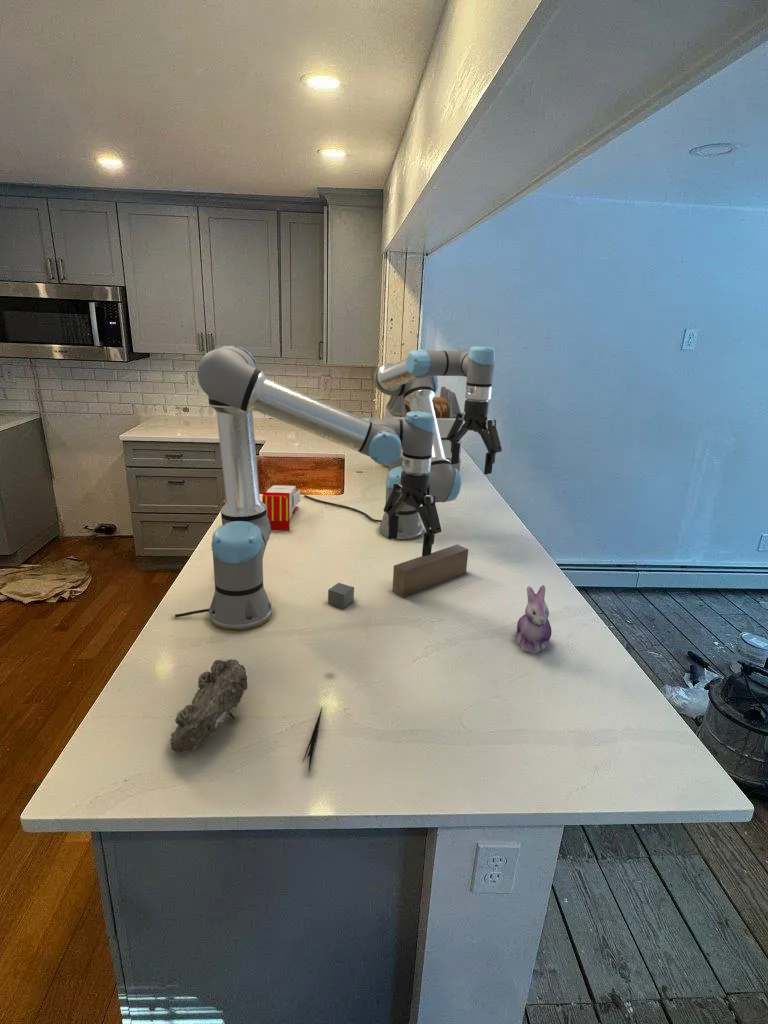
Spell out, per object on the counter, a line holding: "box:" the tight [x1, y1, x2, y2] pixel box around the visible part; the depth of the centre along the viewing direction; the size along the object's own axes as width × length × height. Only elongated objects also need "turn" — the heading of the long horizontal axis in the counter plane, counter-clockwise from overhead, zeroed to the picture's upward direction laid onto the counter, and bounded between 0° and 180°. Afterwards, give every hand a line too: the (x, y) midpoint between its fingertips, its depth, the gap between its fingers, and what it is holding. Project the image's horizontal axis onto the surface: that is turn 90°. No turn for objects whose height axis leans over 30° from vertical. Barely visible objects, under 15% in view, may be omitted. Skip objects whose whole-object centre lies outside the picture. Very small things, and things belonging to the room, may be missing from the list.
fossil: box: [170, 658, 249, 753], centre depth 106 cm, size 22×10×15 cm
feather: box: [301, 673, 332, 771], centre depth 108 cm, size 2×28×2 cm
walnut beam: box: [392, 544, 469, 598], centre depth 164 cm, size 4×26×8 cm, turn 131°
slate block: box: [327, 582, 355, 609], centre depth 152 cm, size 5×5×4 cm
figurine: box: [515, 584, 552, 654], centre depth 134 cm, size 9×10×15 cm
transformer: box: [382, 386, 465, 472], centre depth 268 cm, size 34×33×41 cm
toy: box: [261, 484, 301, 532], centre depth 208 cm, size 12×13×30 cm
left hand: (409, 546), depth 155 cm, fingers open, 13 cm apart
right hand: (470, 468), depth 177 cm, fingers open, 13 cm apart
